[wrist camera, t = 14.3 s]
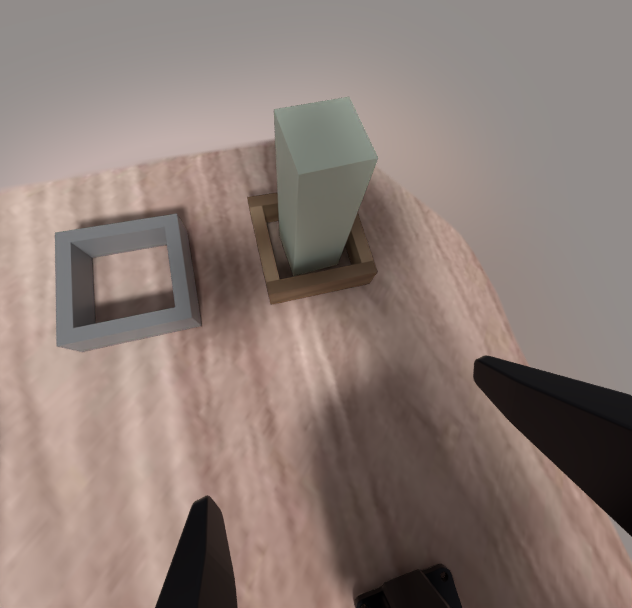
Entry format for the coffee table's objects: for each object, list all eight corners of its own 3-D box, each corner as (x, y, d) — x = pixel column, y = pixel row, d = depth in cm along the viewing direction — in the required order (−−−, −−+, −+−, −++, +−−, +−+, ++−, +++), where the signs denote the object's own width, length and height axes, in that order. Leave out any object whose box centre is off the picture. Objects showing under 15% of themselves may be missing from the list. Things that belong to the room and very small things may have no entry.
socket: (201, 325, 23) (191, 317, 21) (81, 351, 22) (56, 346, 19) (187, 230, 25) (176, 213, 23) (78, 249, 24) (54, 232, 22)
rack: (369, 283, 25) (377, 272, 23) (270, 304, 24) (268, 294, 22) (342, 200, 28) (347, 181, 25) (250, 215, 26) (247, 197, 24)
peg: (337, 264, 26) (378, 157, 14) (293, 276, 25) (298, 174, 14) (322, 225, 27) (349, 96, 15) (279, 235, 26) (273, 109, 15)
